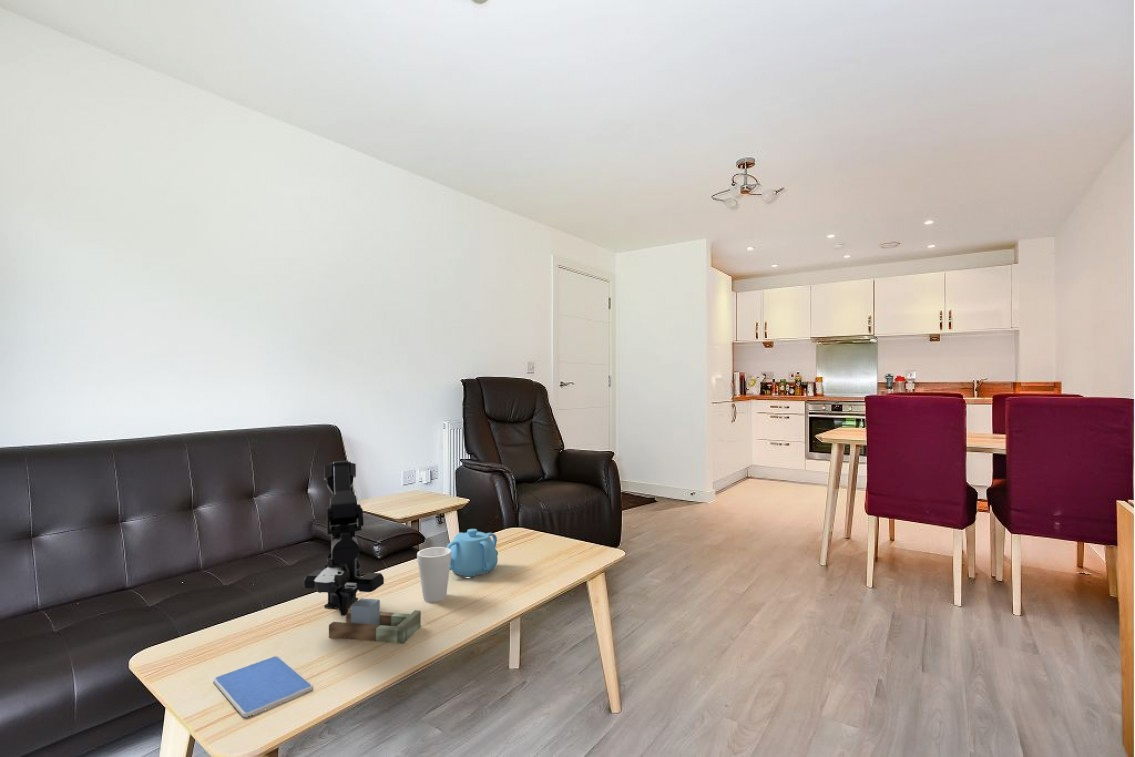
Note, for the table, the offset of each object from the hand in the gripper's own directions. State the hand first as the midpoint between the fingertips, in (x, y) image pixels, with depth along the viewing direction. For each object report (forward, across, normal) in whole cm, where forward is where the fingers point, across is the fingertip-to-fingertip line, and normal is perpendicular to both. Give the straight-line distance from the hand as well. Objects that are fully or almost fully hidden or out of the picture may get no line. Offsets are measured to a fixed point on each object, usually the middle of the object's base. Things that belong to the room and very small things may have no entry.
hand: (344, 615), depth 130 cm
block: (+4, +6, 0) cm, 7 cm away
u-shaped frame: (+4, +8, 0) cm, 9 cm away
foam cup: (+4, +14, +22) cm, 26 cm away
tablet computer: (+4, -2, -25) cm, 25 cm away
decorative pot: (+4, +16, +44) cm, 47 cm away
